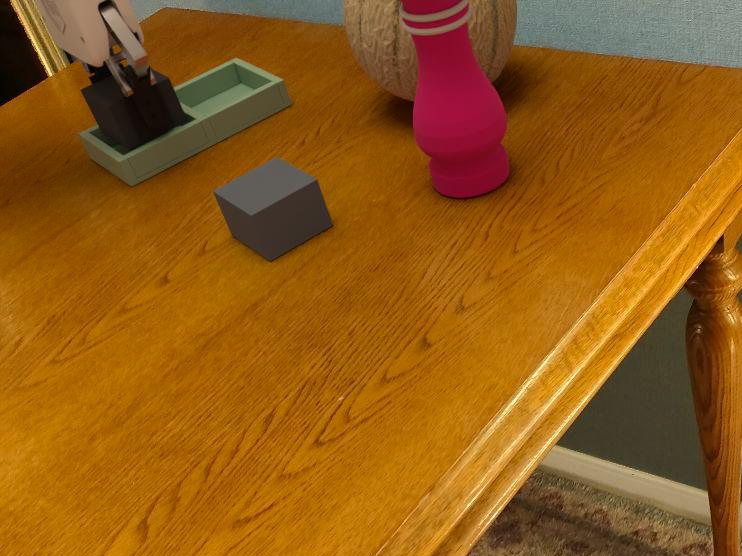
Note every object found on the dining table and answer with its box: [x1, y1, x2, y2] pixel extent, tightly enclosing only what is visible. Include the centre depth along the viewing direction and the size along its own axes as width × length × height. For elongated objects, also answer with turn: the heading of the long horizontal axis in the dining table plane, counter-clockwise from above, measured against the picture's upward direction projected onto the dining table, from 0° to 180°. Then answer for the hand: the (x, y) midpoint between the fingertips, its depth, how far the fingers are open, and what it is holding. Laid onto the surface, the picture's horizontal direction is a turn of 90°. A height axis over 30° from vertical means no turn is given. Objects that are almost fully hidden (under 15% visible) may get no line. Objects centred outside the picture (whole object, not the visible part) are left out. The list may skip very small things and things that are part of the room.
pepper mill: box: [399, 0, 511, 199], centre depth 73 cm, size 7×7×20 cm
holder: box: [77, 57, 293, 188], centre depth 93 cm, size 17×9×2 cm, turn 132°
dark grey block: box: [80, 67, 188, 150], centre depth 89 cm, size 6×6×4 cm
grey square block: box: [212, 156, 334, 262], centre depth 78 cm, size 6×6×4 cm
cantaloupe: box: [342, 0, 518, 103], centre depth 85 cm, size 15×15×15 cm
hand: (141, 121), depth 90 cm, fingers closed on dark grey block, 5 cm apart
